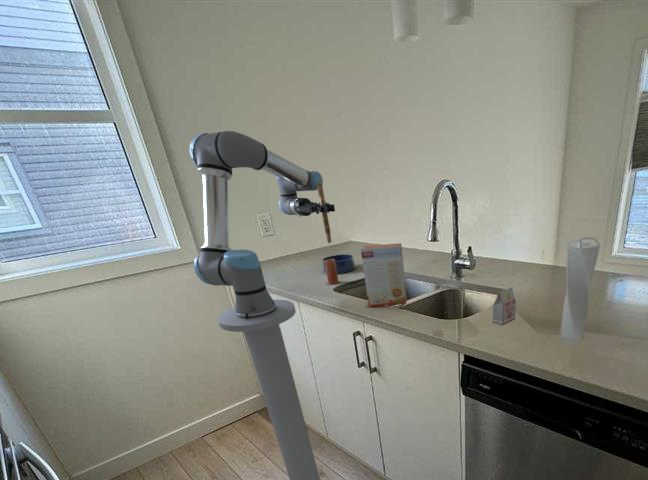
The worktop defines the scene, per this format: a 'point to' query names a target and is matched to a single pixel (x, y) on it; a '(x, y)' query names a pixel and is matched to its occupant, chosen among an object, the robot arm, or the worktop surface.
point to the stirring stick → (324, 215)
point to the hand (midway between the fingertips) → (330, 208)
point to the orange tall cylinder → (331, 271)
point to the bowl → (341, 263)
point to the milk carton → (504, 307)
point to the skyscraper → (578, 288)
